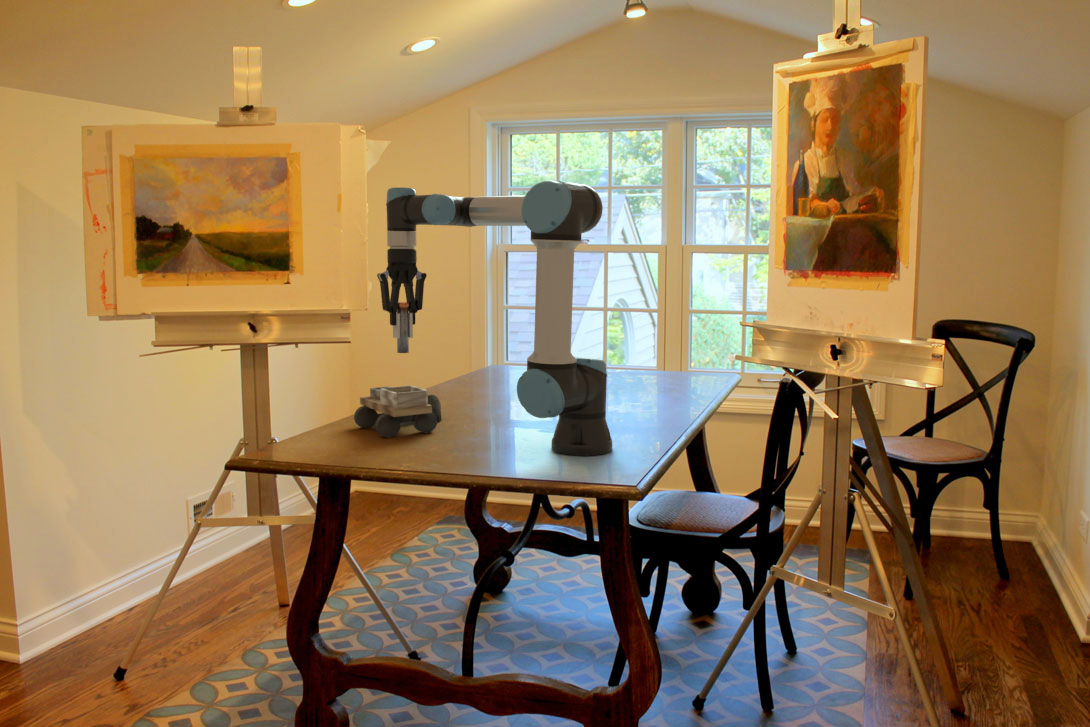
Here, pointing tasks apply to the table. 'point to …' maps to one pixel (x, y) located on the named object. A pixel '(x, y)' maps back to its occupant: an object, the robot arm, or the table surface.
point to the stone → (434, 406)
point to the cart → (396, 410)
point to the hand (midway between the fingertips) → (402, 337)
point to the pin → (403, 328)
